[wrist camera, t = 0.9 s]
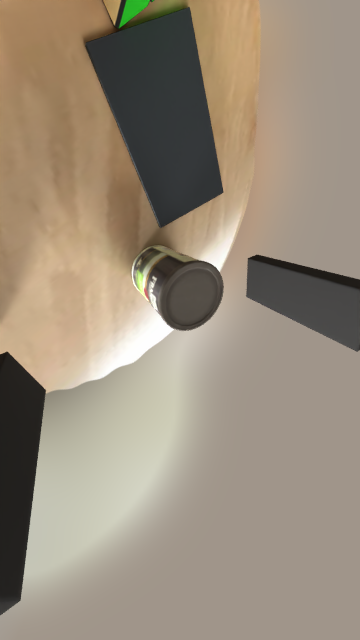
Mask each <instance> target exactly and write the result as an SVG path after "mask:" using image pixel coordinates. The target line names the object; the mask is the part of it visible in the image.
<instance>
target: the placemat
mask: <svg viewBox="0 0 360 640" xmlns="http://www.w3.org/2000/svg"><path fill="white" fill-rule="evenodd" d="M85 47H86V49H87V52H88V54H89V56H90V59H91V61H92V64H93V66H94V69H95V71H96V73H97V76H98V78H99V81H100V83H101V86H102V88H103V90H104V93H105V95H106V98H107V100H108V103H109V105H110V107H111V110H112V112H113V115H114V117H115V120H116V122H117V124H118V127H119V129H120V132H121V134H122V137H123V139H124V141H125V144H126V146H127V149H128V151H129V154H130V156H131V158H132V161H133V163H134V166H135V168H136V171H137V173H138V175H139V178H140V180H141V183H142V185H143V188H144V190H145V192H146V195H147V197H148V200H149V202H150V205H151V207H152V210H153V212H154V214H155V217H156V219H157V222H158V224H159V227H160V228H162V227H163V226H165V225H167V224H169V223H170V222H172V221H174V220H176V219H178V218H179V217H181V216H183V215H185V214H186V213H188V212H190V211H192V210H194V209H195V208H197V207H199V206H201V205H202V204H204V203H206V202H208V201H210V200H211V199H213V198H215V197H217V196H218V195H220V194H222V193H223V187H222V182H221V176H220V171H219V165H218V160H217V154H216V149H215V143H214V138H213V132H212V127H211V121H210V116H209V110H208V105H207V99H206V94H205V88H204V83H203V77H202V72H201V66H200V61H199V55H198V50H197V44H196V39H195V33H194V28H193V22H192V17H191V11H190V7H188V8H185V9H182V10H179V11H176V12H174V13H171V14H168V15H165V16H162V17H159V18H156V19H153V20H150V21H147V22H144V23H142V24H139V25H136V26H133V27H130V28H127V29H124V30H121V31H118V32H115V33H112V34H110V35H107V36H104V37H101V38H98V39H95V40H92V41H89V42H86V44H85Z"/></svg>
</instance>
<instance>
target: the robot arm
mask: <svg viewBox="0 0 360 640" xmlns="http://www.w3.org/2000/svg"><path fill="white" fill-rule="evenodd" d="M246 296H247V297H248V298H250V299H252V300H254V301H256V302H258V303H260V304H262V305H264V306H266V307H268V308H270V309H272V310H274V311H276V312H278V313H280V314H282V315H284V316H286V317H288V318H290V319H292V320H294V321H296V322H298V323H300V324H302V325H304V326H306V327H308V328H310V329H312V330H314V331H316V332H319V333H320V334H323V335H324V336H326V337H329V338H331V339H333V340H335V341H337V342H339V343H341V344H343V345H345V346H347V347H349V348H351V349H353V350H355V351H359V350H360V280H359V279H355V278H351V277H347V276H343V275H339V274H335V273H330V272H326V271H322V270H318V269H314V268H310V267H305V266H302V265H297V264H294V263H289V262H285V261H281V260H277V259H273V258H269V257H265V256H261V255H255V256H252V257H250V258H248V272H247V295H246ZM45 392H46V390H45V389H44V388H43V387H42V386H41V385H40V384H39V383H38V382H37V381H36V380H35V379H34V378H33V377H32V376H31V375H30V374H29V373H28V372H27V371H26V370H25V369H24V368H23V367H22V366H21V365H20V364H19V363H18V362H17V361H16V360H15V359H14V358H13V357H12V356H11V355H10V354H9V353H8V352H5V353H3V354H0V615H1V614H3V613H4V612H5V611H7V610H8V609H9V608H11V607H12V606H14V605H15V604H16V603H18V602H19V601H20V599H21V592H22V584H23V575H24V567H25V558H26V550H27V542H28V534H29V525H30V517H31V509H32V501H33V491H34V484H35V476H36V467H37V459H38V451H39V442H40V434H41V426H42V417H43V409H44V400H45Z"/></svg>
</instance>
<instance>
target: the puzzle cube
mask: <svg viewBox="0 0 360 640" xmlns="http://www.w3.org/2000/svg"><path fill="white" fill-rule="evenodd" d="M149 1H151V2H153V1H154V0H103V2H104V4H105V6H106V8H107V11H108V13H109V15H110V17H111V19H112V22H113V24H114V26H115V27H116V28H118V29H119V28H121V27H122V26H123V25H124V24H126V23H127V22H128V21H129V20H131V19H132V18H133V17H134V16H136V15H137V14H138V13H139V12H141V11H142V10H143V9H144V8H146V7H147V6H148V4H149Z"/></svg>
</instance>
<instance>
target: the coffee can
mask: <svg viewBox="0 0 360 640" xmlns="http://www.w3.org/2000/svg"><path fill="white" fill-rule="evenodd" d="M132 280H133V283H134V285H135V287H136V288H137V289H138V291H140V292H141V293H142V294H143V296H144V297H145V298H146V299H147V300H148V301H149V303H150V304H151V305H152V306H153V307H154V308H155V310H156V311H157V312H158V313H159V314H160V315H161V317H162V318H163V320H164V321H165V323H166V324H167V325H169V326H170V327H171V328H173V329H176V330H180V331H186V330H187V331H188V330H192V329H195V328H198V327H200V326H201V325H203V324H204V323H206V322H207V321H208V320H209V319H210V318H211V317H212V316H213V315H214V313H215V312H216V310H217V309H218V307H219V305H220V303H221V300H222V296H223V288H224V286H223V280H222V276H221V274H220V272H219V271H218V270H217V268H216V267H214V266H213V265H212V264H210V263H207V262H204V261H199V260H197V259H194V258H192V257H189V256H187V255H184V254H181V253H179V252H176V251H174V250H171V249H169V248H167V247H165V246H160V245H156V246H150V247H148V248H146V249H144V250H143V251H142V252H141V253H140V254H139V255H138V256H137V257H136V259H135V261H134V263H133V267H132Z"/></svg>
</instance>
